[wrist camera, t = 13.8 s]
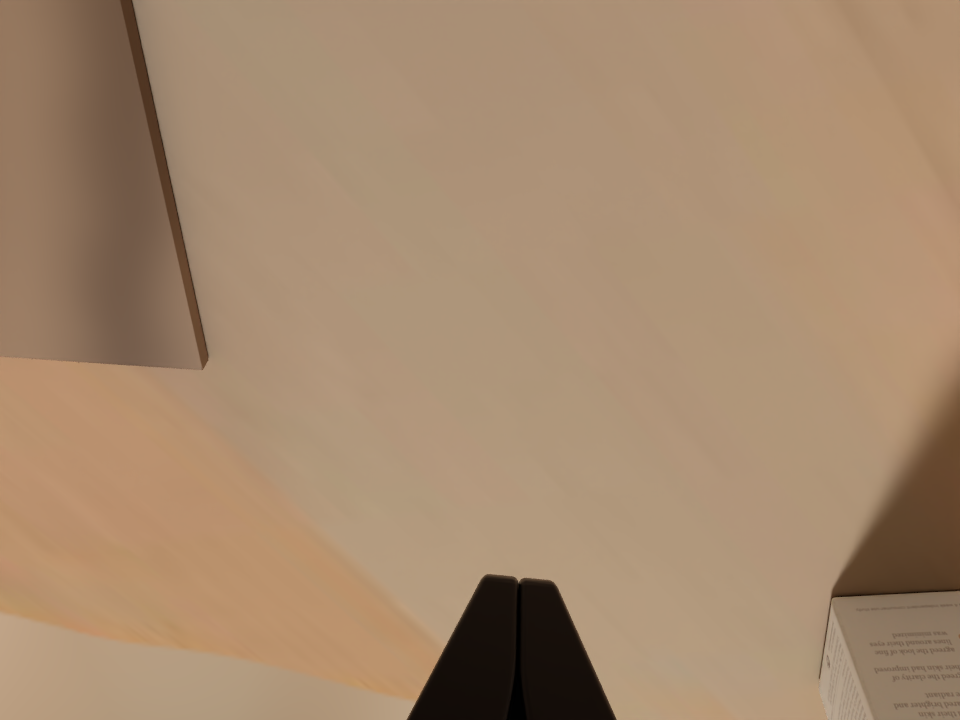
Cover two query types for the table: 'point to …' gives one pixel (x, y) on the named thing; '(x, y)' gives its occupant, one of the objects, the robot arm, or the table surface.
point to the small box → (892, 657)
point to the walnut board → (87, 195)
